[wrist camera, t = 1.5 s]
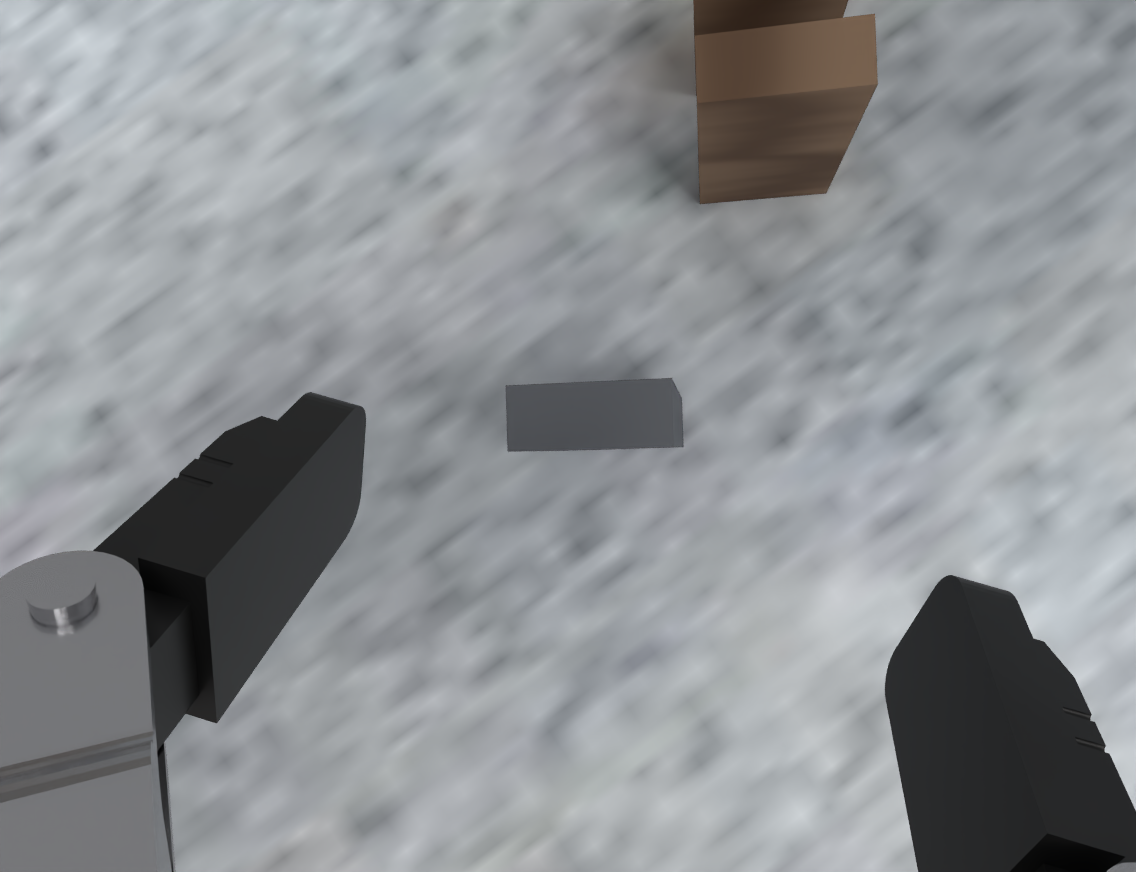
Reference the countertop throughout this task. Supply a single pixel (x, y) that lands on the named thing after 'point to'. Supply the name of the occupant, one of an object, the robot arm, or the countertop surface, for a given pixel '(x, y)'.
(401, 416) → the countertop surface
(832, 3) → the domino
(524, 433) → the domino
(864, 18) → the domino
